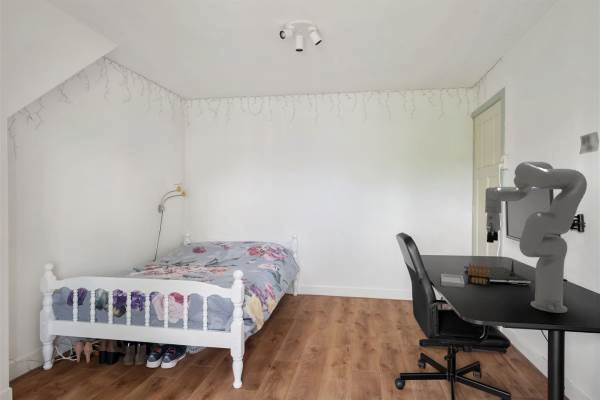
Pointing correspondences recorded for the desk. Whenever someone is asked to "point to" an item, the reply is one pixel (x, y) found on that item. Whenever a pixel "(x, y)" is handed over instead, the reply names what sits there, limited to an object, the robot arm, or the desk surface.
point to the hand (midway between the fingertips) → (492, 241)
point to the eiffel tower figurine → (513, 274)
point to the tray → (452, 280)
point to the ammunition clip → (479, 275)
